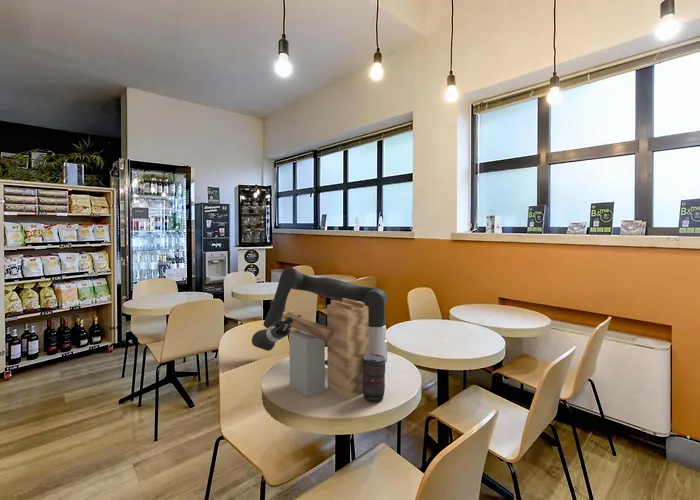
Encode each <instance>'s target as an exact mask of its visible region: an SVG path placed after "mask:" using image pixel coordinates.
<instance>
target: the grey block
mask: <svg viewBox="0 0 700 500" xmlns="http://www.w3.org/2000/svg"><path fill="white" fill-rule="evenodd" d="M288 336H289V337H288V338H289V339H288V342H289V345H288V346H289V352H288V353H289V387H291V388H292V389H294V390H295V391H296V392H298V393H299V394H301V395H303V397H305V398H309V397H312V396H315V395H317V394H320V393H323V392H325V391H326V368H325V360H326V357H325V354H326V352H325V350H326V347H325V345H326V344H325V343H326V341H323V340H321V339H319V338H316V337H314V336H312V335H310V334H307V333H305V332H303V331H300V330H298V329H297V330H295V331H294V330H293V331H290V332H289V334H288Z"/></svg>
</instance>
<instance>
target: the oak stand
mask: <svg viewBox="0 0 700 500" xmlns="http://www.w3.org/2000/svg"><path fill="white" fill-rule="evenodd" d="M326 310H327V311H326V312H327V313H326V316H327V317H326V325H327V326H326V327H329V328H331V329H334V340H331V341H327V343H326V345H327V351H326V352H327V359H328V369H327V389H328V390H330V391H332V392H334V393H335V394H336V395H338V396H340V397H342V398H344V399H345V400H347V401H349V400H352V399H354V398H356V397H359V396H362V395H364V394H363V381H362V377H363V357H364V356H365V355H367V354H369V307H368V306H365V303H363V302H359V301H353V300H349V299H345V298H343V299H342V300H341V301H339V300H335V299H331V300H330V304H327V305H326Z"/></svg>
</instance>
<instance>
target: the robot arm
mask: <svg viewBox="0 0 700 500" xmlns="http://www.w3.org/2000/svg"><path fill="white" fill-rule="evenodd" d="M280 274H281V275H280V276H279V280H278V283H277V288H276V291H275V294H274V296H273V300H272V302H271V306H270V308H269V311H267V315H266V317H265V319H264V321H263V324H262V325H263V326H264V327H265V328H264V329H261V330H258V331H256V332H255V333H254V334H253V335H252V337H251V344H252V346H253V347H255V348H258V349H261V350H264V351H267V352H270V351H272V350H273V349H274V347H275V345H276V343H277V342H278V341H281V340H282V339H284V338H285V337H287V336H289V332H291V330H292V329H294V327H291V326H289V325H288V324H290V323H291V322H293V320H292V317H291V316H290V317H288V318H287V319H284V320H283V313H284V312H286V311H285V309H286V304H287V299H288V297H289V294H290V292H291V290H297V291H303V292H304V291H305V292H309V293H313V294H315V295H318V296H320V297H321V296H322V297H324V298H326V299H327V298H328V299H331V300H335V301H342V299H343V298H345V299H349V300H353V301H357V302H362V303H365V306H368V307H369V354H378V355H382V356H384V357H385V363H386V362H388V340H387V337H386V336H387V335H386V334H387V330H386V329H387V326H386V325H387V324H386V323H387V322H386V321H387V319H386V317H385V305H386V304H387V301H388V295H387V293H386V292H385V291H384V290H383V289H381V288H379V287H378V288H377V287H370V286H369V287H368V286H362V285H358V284H354V283H351V282H347V281H344V280H341V279H335V278H333V277H315V276H310V275H307V274H305V273H304V274H303V273H302V272H300V271H298V270H297V269H296V268H294V267H287V268H284V269H283V271H282V272H281V273H280ZM297 316H299V317H302V315H301V314H298V315H297ZM302 318H303V317H302Z"/></svg>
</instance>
